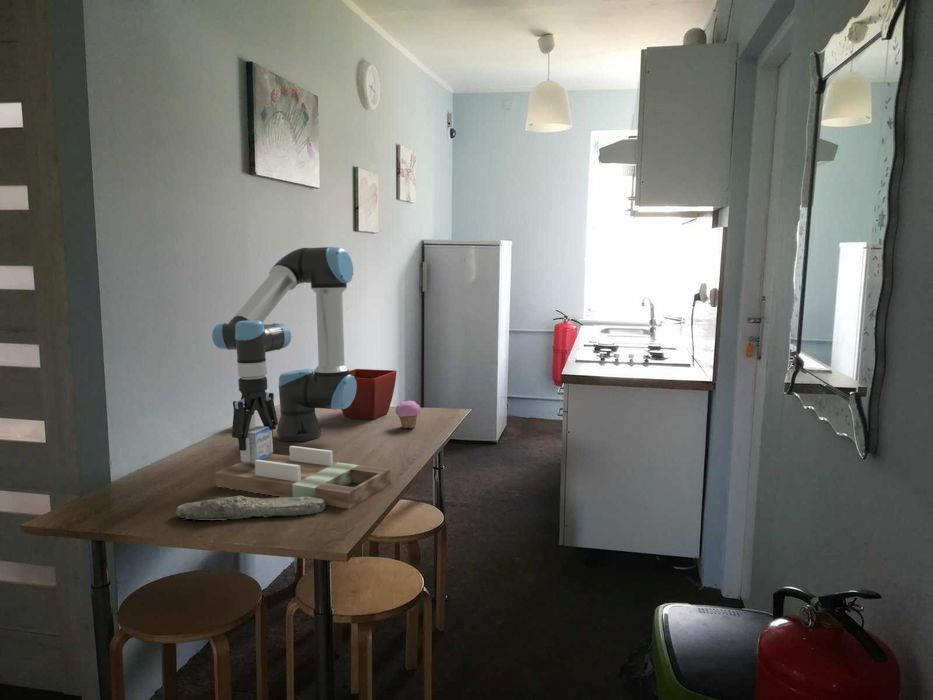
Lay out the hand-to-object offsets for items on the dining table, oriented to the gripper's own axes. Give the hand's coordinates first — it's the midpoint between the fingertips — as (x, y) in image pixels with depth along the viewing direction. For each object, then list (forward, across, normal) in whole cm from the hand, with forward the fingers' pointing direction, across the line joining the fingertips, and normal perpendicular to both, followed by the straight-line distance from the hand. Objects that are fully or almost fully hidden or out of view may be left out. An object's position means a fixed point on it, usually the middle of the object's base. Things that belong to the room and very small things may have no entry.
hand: (257, 456), depth 186 cm
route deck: (+6, 0, +16) cm, 17 cm away
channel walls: (+2, 0, +13) cm, 13 cm away
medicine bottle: (+7, -46, -43) cm, 63 cm away
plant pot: (+7, -76, -13) cm, 77 cm away
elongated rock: (+7, +21, +17) cm, 28 cm away
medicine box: (+1, 0, 0) cm, 1 cm away
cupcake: (+7, -65, +12) cm, 66 cm away
